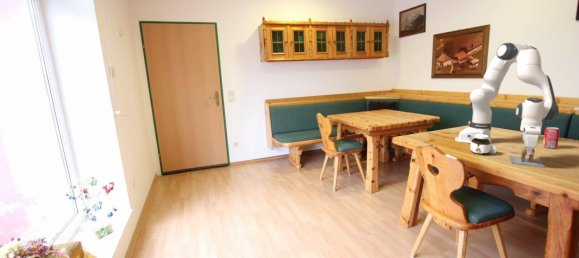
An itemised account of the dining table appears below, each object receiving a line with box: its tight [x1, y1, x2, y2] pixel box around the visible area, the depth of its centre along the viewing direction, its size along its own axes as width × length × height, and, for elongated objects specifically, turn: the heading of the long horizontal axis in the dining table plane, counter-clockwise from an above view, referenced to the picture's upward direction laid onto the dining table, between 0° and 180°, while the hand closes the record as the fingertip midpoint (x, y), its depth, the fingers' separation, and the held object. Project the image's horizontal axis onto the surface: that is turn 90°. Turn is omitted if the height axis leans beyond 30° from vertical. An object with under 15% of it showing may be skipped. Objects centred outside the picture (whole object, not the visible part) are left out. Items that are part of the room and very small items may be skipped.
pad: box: [509, 155, 546, 168], centre depth 159 cm, size 14×14×1 cm
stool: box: [520, 147, 536, 163], centre depth 158 cm, size 5×5×7 cm
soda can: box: [542, 126, 561, 150], centre depth 181 cm, size 7×7×13 cm
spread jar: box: [470, 134, 497, 156], centre depth 176 cm, size 12×11×12 cm
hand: (527, 151), depth 158 cm, fingers open, 8 cm apart
